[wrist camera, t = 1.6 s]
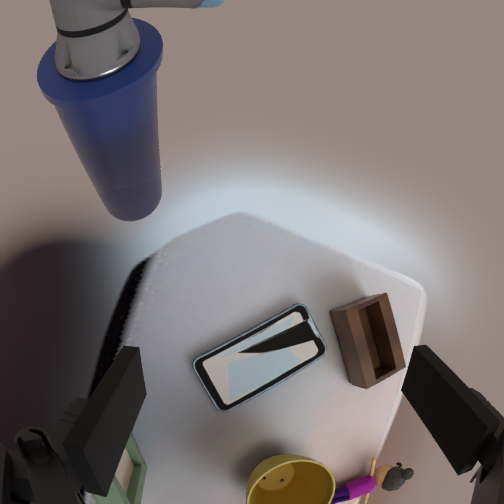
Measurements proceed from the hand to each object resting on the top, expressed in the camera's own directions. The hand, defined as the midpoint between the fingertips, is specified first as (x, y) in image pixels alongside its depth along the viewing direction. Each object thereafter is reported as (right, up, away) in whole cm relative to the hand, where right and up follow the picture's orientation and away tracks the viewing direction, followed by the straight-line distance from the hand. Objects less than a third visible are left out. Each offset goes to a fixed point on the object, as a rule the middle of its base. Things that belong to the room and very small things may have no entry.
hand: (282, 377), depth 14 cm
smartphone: (0, -7, +22) cm, 23 cm away
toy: (+6, -28, +16) cm, 32 cm away
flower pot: (+1, -22, +19) cm, 29 cm away
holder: (+13, -6, +26) cm, 29 cm away
